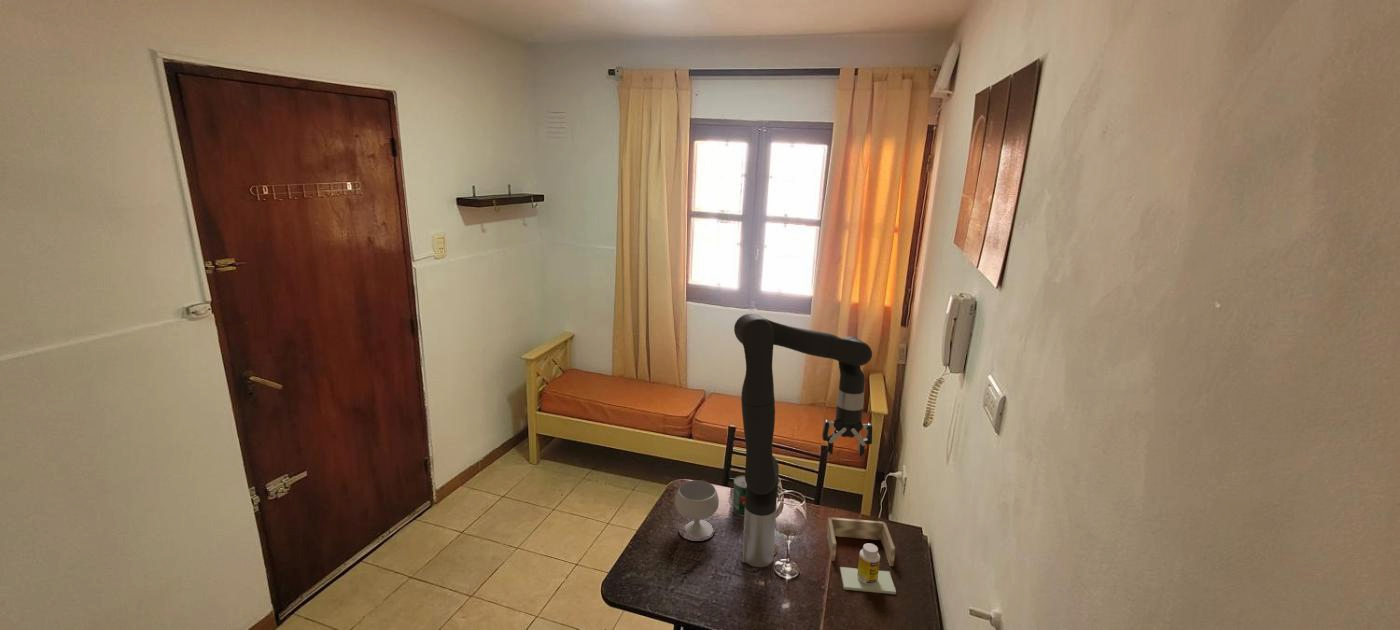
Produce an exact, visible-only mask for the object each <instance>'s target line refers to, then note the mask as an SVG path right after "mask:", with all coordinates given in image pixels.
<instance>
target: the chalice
mask: <svg viewBox="0 0 1400 630" xmlns="http://www.w3.org/2000/svg"><path fill="white" fill-rule="evenodd" d="M676 492H677V493H676V496H675V502H674V504H675V508H676V510H677V512H679V513H680V515H681V516H683V517H684V518H686V519H688V520H689V519H693V520H694V521H691V522H689V523H688V524H686V526H685V531H686V532H687V533H688V532H689V533H690V534H691V535H693V536H695V537H697V536H698V537H704V536H705V537H706V536H710V535H711V534H712V532H713V528H712V525H711V524H710V523H711V522H710V521H709V522H710V523H709V522H707V521H708V520H707V521H705V520H706V519H708V518H710V517H712V516H714V514H715V513H716V512H717V510H718V508H719V503H720V502H719V501H720V499H719V495H718V492H717V490H716V487H715V486H714V485H713V484H712V483H710V482H708V481H705V480H701V479H699V480H698V479H696V480H695V479H694V480H688V481H686V482H684V483H682V484H681V485H680V486H679V488H678V490H677V491H676ZM702 519H704V520H702Z"/></svg>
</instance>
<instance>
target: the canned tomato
mask: <svg viewBox="0 0 1400 630" xmlns="http://www.w3.org/2000/svg"><path fill="white" fill-rule="evenodd" d="M746 487H747V484H746V481H745V474H744V475H738V476H736V477H735V478H734V479H733V495H732V496H733V497H732V498H733V501H732V503H733V504H732V511H733V510H734V511H733V512H734V514H736V513H737V514H736V515H738V514H739V515H738V516H740V515H743V516H742V517H744V514H745V495H746Z"/></svg>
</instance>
